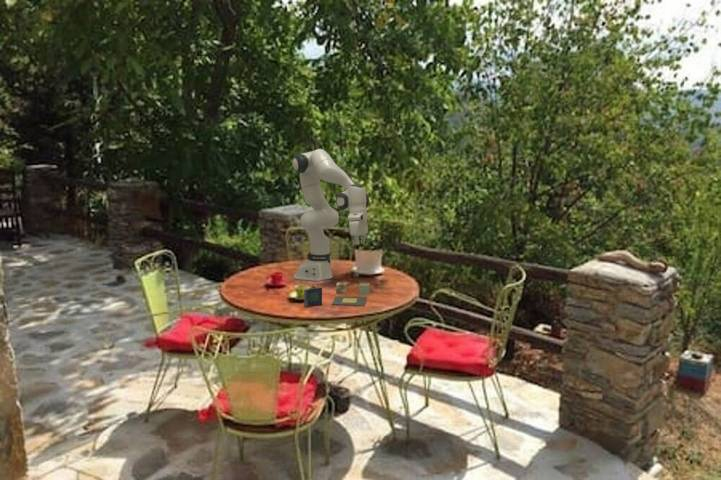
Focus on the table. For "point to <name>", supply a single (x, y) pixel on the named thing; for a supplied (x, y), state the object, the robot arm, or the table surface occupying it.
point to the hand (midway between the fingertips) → (360, 244)
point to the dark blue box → (313, 296)
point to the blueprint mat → (349, 301)
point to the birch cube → (341, 288)
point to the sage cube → (364, 288)
